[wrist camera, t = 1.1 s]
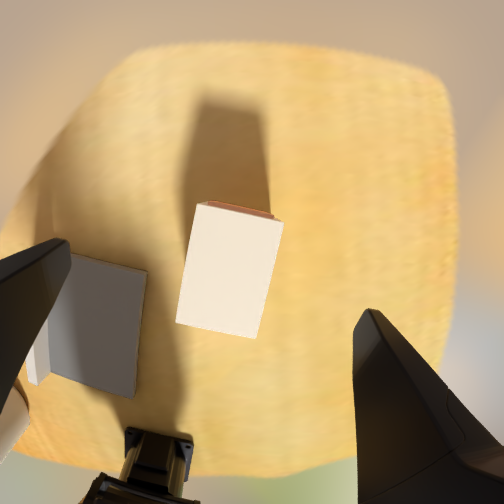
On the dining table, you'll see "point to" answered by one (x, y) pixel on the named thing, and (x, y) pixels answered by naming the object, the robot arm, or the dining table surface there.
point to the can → (12, 422)
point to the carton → (228, 268)
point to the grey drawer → (93, 328)
